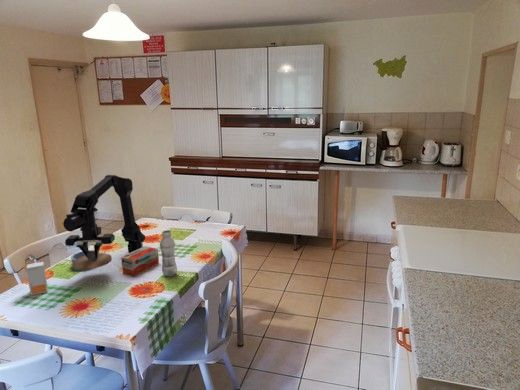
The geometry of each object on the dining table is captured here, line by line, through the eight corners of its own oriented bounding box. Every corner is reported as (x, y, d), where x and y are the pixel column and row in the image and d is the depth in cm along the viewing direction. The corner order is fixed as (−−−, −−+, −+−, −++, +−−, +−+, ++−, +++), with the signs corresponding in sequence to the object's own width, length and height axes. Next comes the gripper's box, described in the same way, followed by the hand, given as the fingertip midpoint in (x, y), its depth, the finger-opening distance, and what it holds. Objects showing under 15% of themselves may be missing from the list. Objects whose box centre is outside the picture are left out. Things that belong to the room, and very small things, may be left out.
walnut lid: (116, 254, 172) (115, 245, 171) (105, 268, 158) (104, 258, 157) (81, 255, 171) (80, 246, 170) (68, 270, 157) (66, 260, 156)
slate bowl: (103, 259, 187) (102, 249, 186) (95, 269, 175) (94, 259, 174) (78, 260, 186) (77, 250, 185) (68, 271, 174) (67, 260, 173)
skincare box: (30, 295, 152) (25, 268, 150) (31, 291, 156) (26, 264, 153) (47, 292, 155) (43, 265, 152) (48, 287, 159) (43, 261, 156)
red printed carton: (146, 260, 185) (145, 245, 183) (159, 263, 181) (158, 248, 179) (122, 273, 172) (120, 256, 170) (135, 276, 168) (133, 260, 166)
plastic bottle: (180, 272, 171) (177, 230, 166) (172, 278, 165) (168, 235, 160) (167, 270, 173) (164, 228, 168) (159, 277, 167) (155, 233, 162)
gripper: (116, 217, 169) (120, 250, 173) (72, 218, 168) (77, 252, 171) (108, 225, 158) (112, 260, 162) (62, 227, 157) (67, 262, 161)
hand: (92, 258), depth 164 cm, fingers closed on walnut lid, 3 cm apart
